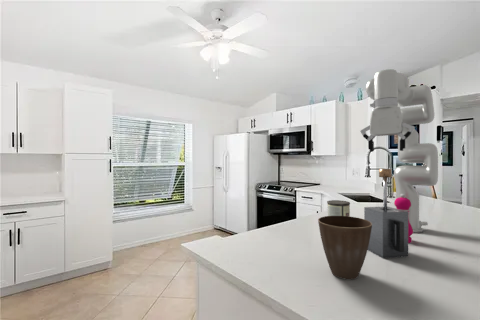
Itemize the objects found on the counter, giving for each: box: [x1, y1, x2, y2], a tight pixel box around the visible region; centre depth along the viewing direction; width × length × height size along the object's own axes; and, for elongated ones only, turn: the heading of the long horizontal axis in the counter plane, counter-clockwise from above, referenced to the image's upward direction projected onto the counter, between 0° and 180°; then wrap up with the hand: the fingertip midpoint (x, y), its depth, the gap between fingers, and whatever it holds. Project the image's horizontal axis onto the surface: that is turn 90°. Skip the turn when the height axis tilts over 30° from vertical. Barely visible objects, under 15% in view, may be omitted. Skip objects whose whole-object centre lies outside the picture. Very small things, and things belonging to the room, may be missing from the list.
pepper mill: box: [393, 194, 414, 244], centre depth 105 cm, size 7×7×20 cm
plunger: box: [378, 168, 393, 210], centre depth 92 cm, size 7×7×17 cm
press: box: [363, 205, 409, 259], centre depth 90 cm, size 10×13×16 cm
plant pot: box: [317, 215, 372, 280], centre depth 74 cm, size 15×15×16 cm
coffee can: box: [326, 199, 351, 217], centre depth 120 cm, size 10×10×14 cm
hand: (386, 151), depth 92 cm, fingers open, 9 cm apart
